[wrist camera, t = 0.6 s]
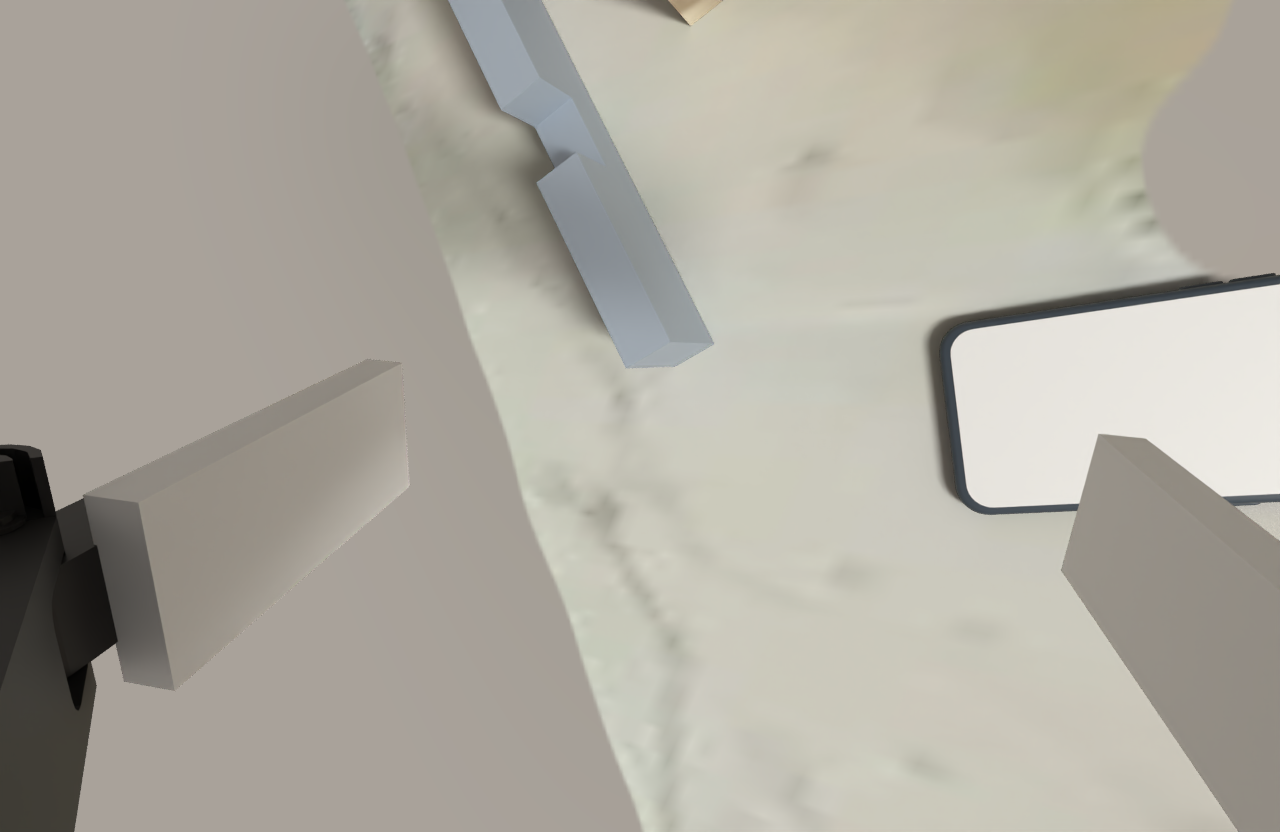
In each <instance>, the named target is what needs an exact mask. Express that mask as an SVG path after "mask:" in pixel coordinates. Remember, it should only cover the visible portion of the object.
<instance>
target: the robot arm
mask: <svg viewBox="0 0 1280 832" xmlns="http://www.w3.org/2000/svg"><path fill="white" fill-rule="evenodd" d="M403 386H404V385H403V368H402V363H400V362H389V361H380V360H371V359H367V360H364V361H363V362H360V363H358V364H356V365H354V366H352V367H350V368H348V369H346V370H344V371H341V372H339V373H337V374H335V375H333V376H331V377H329V378H327V379H325V380H323V381H320V382H318V383H317V384H314V385H312V386H310V387H308V388H306V389H304V390H302V391H299V392H297V393H296V394H293V395H291V396H289V397H287V398H285V399H283V400H281V401H279V402H277V403H274V404H272V405H270V406H268V407H266V408H264V409H262V410H260V411H258V412H256V413H253V414H251V415H249V416H247V417H245V418H243V419H241V420H239V421H237V422H235V423H232V424H230V425H228V426H226V427H224V428H222V429H220V430H218V431H216V432H214V433H212V434H209V435H207V436H205V437H203V438H201V439H199V440H197V441H195V442H193V443H191V444H189V445H186V446H184V447H182V448H180V449H178V450H176V451H174V452H172V453H170V454H167V455H165V456H163V457H162V458H159V459H157V460H155V461H153V462H151V463H149V464H147V465H144V466H142V467H140V468H138V469H136V470H134V471H132V472H130V473H128V474H126V475H123V476H122V477H119V478H117V479H115V480H113V481H111V482H109V483H107V484H105V485H103V486H100V487H99V488H97V489H94V490H92V491H90V492H88V493H86V494H84V495H83V497H84V498H83V499H81V500H79V501H77V502H75V503H73V504H71V505H68V506H66V507H64V508H62V509H60V510H58V511H55V507H54V503H53V499H52V494H51V490H50V486H49V482H48V477H47V473H46V469H45V465H44V460H43V456H42V453H41V450H39V449H36V448H34V447H31V446H23V445H0V832H74V829H75V823H76V816H77V810H78V803H79V797H80V790H81V784H82V777H83V771H84V764H85V758H86V751H87V745H88V738H89V732H90V725H91V719H92V712H93V706H94V699H95V692H96V686H97V685H96V681H95V677H94V673H93V668H92V664H91V661H92V660H93V659H95V658H96V657H97V656H99V655H100V654H102V653H103V652H104V651H106V650H107V649H109V648H110V647H111V646H113V645H114V644H115V643H116V647H117V651H118V656H119V661H120V665H121V670H122V674H123V678H124V682H129V683H135V684H140V685H146V686H152V687H157V688H162V689H168V690H173V691H175V690H176V689H177V688H178V687H180V686H181V685H182V684H183V683H184V682H185V681H187V680H188V679H189V678H190V677H191V676H192V675H193V674H195V673H196V672H197V671H198V670H199V669H200V668H201V667H203V666H204V665H205V664H206V663H207V662H208V661H210V660H211V659H212V658H213V657H214V656H215V655H216V654H217V653H219V652H220V651H221V650H222V649H223V648H225V647H226V646H227V645H228V644H229V643H230V642H231V641H233V640H234V639H235V638H236V637H237V636H238V635H239V634H241V633H242V632H243V631H244V630H245V629H246V628H247V627H248V626H249V625H251V624H252V623H253V622H254V621H255V620H257V619H258V618H259V617H260V616H261V615H262V614H264V613H265V612H266V611H267V610H268V609H269V608H270V607H272V606H273V605H274V604H275V603H276V602H277V601H278V600H279V599H281V598H282V597H283V596H284V595H285V594H286V593H288V592H289V591H290V590H291V589H292V588H293V587H294V586H296V585H297V584H298V583H299V582H300V581H301V580H303V579H304V578H305V577H306V576H307V575H308V574H309V573H311V572H312V571H313V570H314V569H315V568H316V567H317V566H319V565H320V564H321V563H322V562H323V561H324V560H326V559H327V558H328V557H329V556H330V555H331V554H332V553H333V552H335V551H336V550H337V549H338V548H339V547H340V546H342V545H343V544H344V543H345V542H346V541H347V540H348V539H349V538H351V537H352V536H353V535H354V534H355V533H356V532H358V531H359V530H360V529H361V528H362V527H363V526H364V525H366V524H367V523H368V522H369V521H370V520H371V519H372V518H374V517H375V516H376V515H377V514H378V513H379V512H381V511H382V510H383V509H384V508H385V507H386V506H387V505H389V504H390V503H391V502H392V501H393V500H394V499H396V498H397V497H398V496H399V495H400V494H401V493H402V492H403V491H405V490H406V489H407V488H408V487H409V470H408V453H407V436H406V420H405V403H404V387H403ZM1061 571H1062V572H1063V574H1064V575H1065V577H1066V578H1067V580H1068V581H1069V583H1070V584H1071V586H1072V587H1073V589H1074V590H1075V592H1076V593H1077V595H1078V596H1079V597H1080V599H1081V600H1082V602H1083V603H1084V605H1085V606H1086V608H1087V609H1088V611H1089V612H1090V614H1091V615H1092V617H1093V618H1094V620H1095V621H1096V623H1097V624H1098V625H1099V627H1100V628H1101V630H1102V631H1103V633H1104V634H1105V636H1106V637H1107V639H1108V640H1109V642H1110V643H1111V645H1112V646H1113V648H1114V649H1115V651H1116V652H1117V654H1118V655H1119V656H1120V658H1121V659H1122V661H1123V662H1124V664H1125V665H1126V667H1127V668H1128V670H1129V671H1130V673H1131V674H1132V676H1133V677H1134V679H1135V680H1136V682H1137V683H1138V684H1139V686H1140V687H1141V689H1142V690H1143V692H1144V693H1145V695H1146V696H1147V698H1148V699H1149V701H1150V702H1151V704H1152V705H1153V707H1154V708H1155V710H1156V711H1157V712H1158V714H1159V715H1160V717H1161V718H1162V720H1163V721H1164V723H1165V724H1166V726H1167V727H1168V729H1169V730H1170V732H1171V733H1172V735H1173V736H1174V738H1175V739H1176V741H1177V742H1178V743H1179V745H1180V746H1181V748H1182V749H1183V751H1184V752H1185V754H1186V755H1187V757H1188V758H1189V760H1190V761H1191V763H1192V764H1193V766H1194V767H1195V769H1196V770H1197V771H1198V773H1199V774H1200V776H1201V777H1202V779H1203V780H1204V782H1205V783H1206V785H1207V786H1208V788H1209V789H1210V791H1211V792H1212V794H1213V795H1214V797H1215V798H1216V799H1217V801H1218V802H1219V804H1220V805H1221V807H1222V808H1223V810H1224V811H1225V813H1226V814H1227V816H1228V817H1229V819H1230V820H1231V822H1232V823H1233V825H1234V826H1235V828H1236V829H1237V830H1238V832H1280V541H1279V540H1278V539H1276V538H1275V537H1274V536H1272V535H1271V534H1270V533H1268V532H1267V531H1266V530H1264V529H1263V528H1262V527H1261V526H1259V525H1258V524H1257V523H1255V522H1254V521H1253V520H1251V519H1250V518H1249V517H1248V516H1246V515H1245V514H1244V513H1242V512H1241V511H1240V510H1238V509H1237V508H1236V507H1234V506H1233V505H1232V504H1231V503H1229V502H1228V501H1227V500H1225V499H1224V498H1223V497H1221V496H1220V495H1219V494H1218V493H1216V492H1215V491H1214V490H1212V489H1211V488H1210V487H1208V486H1207V485H1206V484H1204V483H1203V482H1202V481H1201V480H1199V479H1198V478H1197V477H1195V476H1194V475H1193V474H1191V473H1190V472H1189V471H1187V470H1186V469H1185V468H1184V467H1182V466H1181V465H1180V464H1178V463H1177V462H1176V461H1174V460H1173V459H1172V458H1171V457H1169V456H1168V455H1167V454H1165V453H1164V452H1163V451H1161V450H1160V449H1159V448H1157V447H1156V446H1155V445H1154V444H1152V443H1151V442H1150V441H1148V440H1147V439H1146V438H1136V437H1126V436H1117V435H1107V434H1098V437H1097V441H1096V444H1095V448H1094V452H1093V455H1092V459H1091V463H1090V466H1089V470H1088V474H1087V477H1086V481H1085V485H1084V488H1083V492H1082V496H1081V499H1080V503H1079V507H1078V510H1077V514H1076V518H1075V521H1074V525H1073V529H1072V532H1071V536H1070V540H1069V543H1068V547H1067V550H1066V554H1065V558H1064V561H1063V565H1062V569H1061Z"/></svg>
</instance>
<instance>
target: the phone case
mask: <svg viewBox="0 0 1280 832" xmlns="http://www.w3.org/2000/svg"><path fill="white" fill-rule="evenodd" d="M940 362H941V370H942V379H943V387H944V395H945V403H946V411H947V420H948V428H949V436H950V444H951V452H952V461H953V469H954V477H955V485H956V491H957V494H958V496H959V498H960V500H961V501H962V502H963V503H964V504H965V505H966V506H967V507H968V508H970V509H971V510H973V511H975V512H977V513H981V514H987V515H996V514H1018V513H1041V512H1063V511H1077V510H1078V507H1079V503H1080V499H1081V496H1082V492H1083V488H1084V485H1085V481H1086V477H1087V474H1088V470H1089V466H1090V463H1091V459H1092V455H1093V452H1094V448H1095V444H1096V441H1097V437H1098V434H1107V435H1117V436H1126V437H1136V438H1146V439H1147V440H1148V441H1150V442H1151V443H1152V444H1154V445H1155V446H1156V447H1157V448H1159V449H1160V450H1161V451H1163V452H1164V453H1165V454H1167V455H1168V456H1169V457H1171V458H1172V459H1173V460H1174V461H1176V462H1177V463H1178V464H1180V465H1181V466H1182V467H1184V468H1185V469H1186V470H1187V471H1189V472H1190V473H1191V474H1193V475H1194V476H1195V477H1197V478H1198V479H1199V480H1201V481H1202V482H1203V483H1204V484H1206V485H1207V486H1208V487H1210V488H1211V489H1212V490H1214V491H1215V492H1216V493H1218V494H1219V495H1220V496H1221V497H1223V498H1224V499H1225V500H1227V501H1228V502H1229V503H1231V504H1232V505H1233V506H1242V505H1257V504H1260V503H1265V502H1280V275H1275V273H1271V274H1264V275H1258V276H1251V277H1245V278H1238V279H1233V280H1230V281H1229V283H1223V282H1222V281H1218V282H1212V283H1205V284H1199V285H1192V286H1185V287H1181V288H1179V290H1176V291H1169V292H1163V293H1156V294H1149V295H1143V296H1136V297H1129V298H1123V299H1116V300H1109V301H1103V302H1096V303H1089V304H1083V305H1076V306H1070V307H1063V308H1056V309H1050V310H1043V311H1036V312H1030V313H1023V314H1016V315H1010V316H1003V317H996V318H990V319H983V320H976V321H970V322H965V323H961V324H959V325H957V326H955V327H954V328H952V329H951V330H950V331H949V332H948V333H947V334H946V335H945V337H944V338H943V340H942V342H941V345H940Z"/></svg>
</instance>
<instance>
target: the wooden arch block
mask: <svg viewBox="0 0 1280 832" xmlns="http://www.w3.org/2000/svg"><path fill="white" fill-rule="evenodd" d="M668 1H669V2H670V3H671V4H672V5H673V6H674V8H675V9H676V10H677V11H678V12H679V13H680V14H681V16H682V17H683V18H684V19H685V20H686V21H687V22H688V24H689V25H690V26H691V25H692V24H694V23H695V22H696V21H698V20H699V19H700V18H701V17H703V16H704V15H705V14H706V13H708V12H709V11H710V10H711V9H713V8H714V7H715V6H717V5H718V4H719V3H720V2H722V1H723V0H668Z"/></svg>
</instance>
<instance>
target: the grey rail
mask: <svg viewBox="0 0 1280 832" xmlns="http://www.w3.org/2000/svg"><path fill="white" fill-rule="evenodd" d="M448 1H449V3H450V6H451V8H452V10H453V12H454V14H455V16H456V18H457V20H458V22H459V24H460V26H461V28H462V30H463V32H464V34H465V37H466V39H467V41H468V43H469V45H470V47H471V49H472V51H473V53H474V55H475V57H476V59H477V61H478V63H479V65H480V68H481V70H482V72H483V74H484V76H485V78H486V80H487V82H488V84H489V86H490V88H491V90H492V92H493V94H494V96H495V99H496V101H497V103H498V105H499V107H500V109H501V110H502V111H504V112H506V113H508V114H510V115H512V116H514V117H516V118H518V119H520V120H522V121H523V122H525V123H527V124H529V125H531V126H533V127H535V129H536V131H537V133H538V135H539V137H540V139H541V141H542V143H543V145H544V147H545V149H546V151H547V153H548V155H549V157H550V159H551V161H552V163H553V165H554V168H555V169H554V170H552V171H551V172H550V173H548V174H547V175H546V176H544V177H543V178H542V179H540V180H539V181H538V182H537V185H538V187H539V189H540V191H541V194H542V196H543V198H544V200H545V202H546V204H547V206H548V208H549V210H550V212H551V214H552V216H553V218H554V220H555V222H556V225H557V227H558V229H559V231H560V233H561V235H562V237H563V239H564V241H565V243H566V245H567V247H568V249H569V251H570V253H571V256H572V258H573V260H574V262H575V264H576V266H577V268H578V270H579V272H580V274H581V276H582V278H583V280H584V282H585V284H586V287H587V289H588V291H589V293H590V295H591V297H592V299H593V301H594V303H595V305H596V307H597V309H598V311H599V313H600V315H601V318H602V320H603V322H604V324H605V326H606V328H607V330H608V332H609V334H610V336H611V338H612V340H613V342H614V344H615V346H616V349H617V351H618V353H619V355H620V357H621V359H622V361H623V363H624V365H625V367H626V368H648V367H675V366H677V365H678V364H680V363H682V362H684V361H685V360H687V359H689V358H691V357H692V356H694V355H696V354H698V353H699V352H701V351H703V350H705V349H706V348H708V347H710V346H712V345H713V344H714V342H713V340H712V338H711V336H710V334H709V332H708V330H707V328H706V326H705V324H704V322H703V320H702V318H701V316H700V314H699V312H698V310H697V308H696V306H695V304H694V302H693V300H692V298H691V296H690V294H689V292H688V290H687V288H686V286H685V285H684V283H683V281H682V279H681V277H680V275H679V273H678V271H677V269H676V267H675V265H674V263H673V261H672V259H671V257H670V255H669V253H668V251H667V249H666V247H665V245H664V243H663V241H662V239H661V237H660V235H659V233H658V231H657V229H656V227H655V225H654V223H653V221H652V219H651V217H650V215H649V213H648V211H647V209H646V207H645V205H644V203H643V201H642V199H641V197H640V195H639V193H638V191H637V189H636V187H635V185H634V183H633V181H632V179H631V177H630V175H629V173H628V171H627V169H626V167H625V165H624V163H623V161H622V159H621V157H620V155H619V153H618V151H617V149H616V147H615V145H614V143H613V141H612V139H611V137H610V135H609V133H608V131H607V129H606V127H605V125H604V123H603V121H602V120H601V118H600V116H599V114H598V112H597V110H596V108H595V106H594V104H593V102H592V100H591V98H590V96H589V94H588V92H587V90H586V88H585V86H584V84H583V82H582V80H581V78H580V76H579V74H578V72H577V70H576V68H575V66H574V64H573V62H572V60H571V58H570V56H569V54H568V52H567V50H566V48H565V46H564V44H563V42H562V40H561V38H560V36H559V34H558V32H557V30H556V28H555V26H554V24H553V22H552V20H551V18H550V16H549V14H548V12H547V10H546V8H545V6H544V4H543V2H542V0H448Z"/></svg>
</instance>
